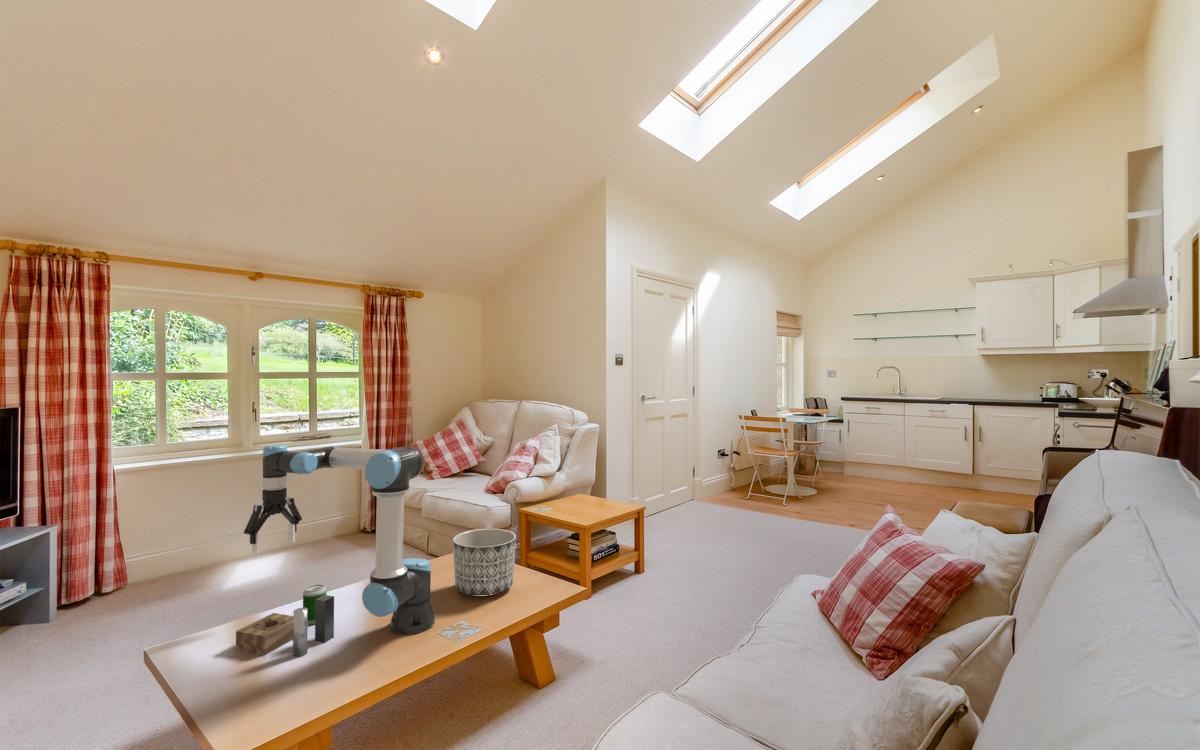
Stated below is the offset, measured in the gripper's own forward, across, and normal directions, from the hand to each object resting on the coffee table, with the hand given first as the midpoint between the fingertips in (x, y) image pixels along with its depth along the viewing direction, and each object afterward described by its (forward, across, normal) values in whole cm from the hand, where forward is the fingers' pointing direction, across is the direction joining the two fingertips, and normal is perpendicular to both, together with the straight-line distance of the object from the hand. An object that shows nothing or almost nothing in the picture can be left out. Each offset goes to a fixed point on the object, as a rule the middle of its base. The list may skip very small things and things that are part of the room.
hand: (273, 547), depth 191 cm
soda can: (+28, -7, +12) cm, 31 cm away
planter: (+28, -56, +52) cm, 81 cm away
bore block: (+27, +10, +12) cm, 31 cm away
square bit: (+27, +1, +27) cm, 38 cm away
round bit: (+27, +11, +28) cm, 41 cm away
